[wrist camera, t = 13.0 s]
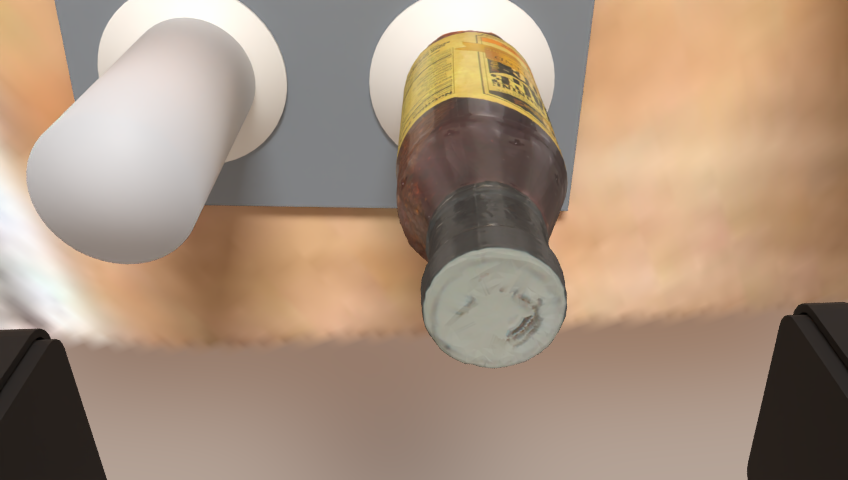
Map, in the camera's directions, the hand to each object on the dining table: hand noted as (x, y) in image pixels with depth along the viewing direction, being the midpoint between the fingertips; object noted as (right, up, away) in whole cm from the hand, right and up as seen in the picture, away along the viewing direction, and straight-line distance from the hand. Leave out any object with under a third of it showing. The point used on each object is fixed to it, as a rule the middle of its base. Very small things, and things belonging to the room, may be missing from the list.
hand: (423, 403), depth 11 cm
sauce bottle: (+2, +10, +29) cm, 31 cm away
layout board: (-5, +10, +30) cm, 32 cm away
